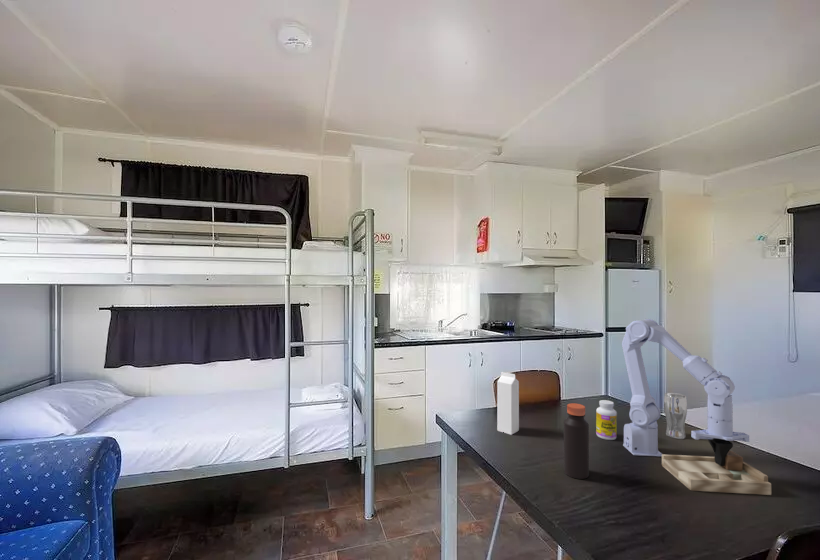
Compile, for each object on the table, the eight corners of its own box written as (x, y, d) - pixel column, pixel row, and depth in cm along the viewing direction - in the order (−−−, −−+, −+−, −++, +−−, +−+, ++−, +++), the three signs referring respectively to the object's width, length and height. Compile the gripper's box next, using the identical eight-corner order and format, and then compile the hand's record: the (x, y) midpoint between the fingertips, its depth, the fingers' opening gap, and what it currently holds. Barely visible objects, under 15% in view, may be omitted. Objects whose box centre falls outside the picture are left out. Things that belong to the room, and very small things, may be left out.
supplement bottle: (598, 439, 135) (598, 403, 135) (594, 432, 142) (594, 398, 142) (619, 441, 134) (619, 405, 134) (613, 434, 140) (613, 399, 140)
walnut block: (727, 469, 108) (728, 455, 108) (717, 463, 112) (717, 449, 112) (742, 471, 108) (742, 457, 108) (731, 464, 112) (732, 451, 112)
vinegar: (574, 481, 107) (574, 410, 107) (558, 469, 113) (558, 403, 114) (594, 477, 109) (594, 408, 109) (577, 466, 115) (577, 401, 115)
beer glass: (687, 441, 134) (686, 399, 134) (663, 436, 138) (663, 395, 138) (687, 435, 140) (687, 394, 140) (664, 430, 144) (664, 391, 144)
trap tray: (690, 490, 102) (690, 473, 102) (661, 465, 116) (661, 451, 116) (771, 494, 100) (771, 477, 100) (731, 469, 114) (731, 454, 114)
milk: (511, 435, 139) (511, 375, 139) (497, 430, 143) (496, 373, 143) (519, 430, 144) (519, 372, 144) (504, 426, 148) (504, 370, 148)
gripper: (702, 421, 107) (702, 469, 107) (757, 423, 105) (758, 472, 105) (686, 413, 114) (686, 458, 114) (738, 415, 113) (738, 460, 112)
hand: (720, 464), depth 110 cm, fingers closed, pressing on walnut block
